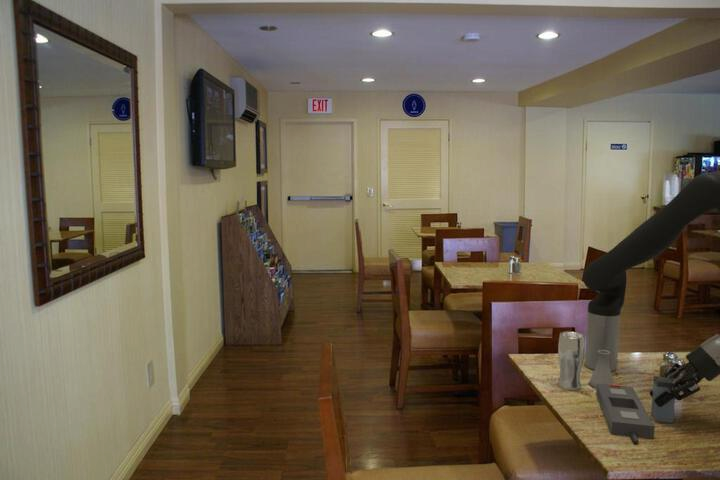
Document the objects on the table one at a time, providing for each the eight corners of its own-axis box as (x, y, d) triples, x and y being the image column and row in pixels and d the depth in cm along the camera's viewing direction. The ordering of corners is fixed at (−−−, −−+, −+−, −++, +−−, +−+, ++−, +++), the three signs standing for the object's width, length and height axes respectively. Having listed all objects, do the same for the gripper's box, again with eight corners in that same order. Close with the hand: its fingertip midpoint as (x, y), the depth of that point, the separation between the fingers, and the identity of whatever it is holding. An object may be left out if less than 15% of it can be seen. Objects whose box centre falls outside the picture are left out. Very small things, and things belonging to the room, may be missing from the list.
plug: (650, 414, 144) (653, 375, 142) (668, 415, 143) (671, 377, 141) (654, 421, 140) (657, 381, 138) (673, 422, 139) (676, 383, 137)
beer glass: (579, 392, 157) (582, 340, 155) (553, 387, 160) (556, 336, 158) (584, 384, 163) (587, 333, 161) (559, 379, 166) (562, 329, 164)
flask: (618, 391, 158) (620, 356, 157) (590, 389, 159) (592, 354, 158) (612, 381, 165) (614, 348, 164) (585, 379, 166) (587, 346, 165)
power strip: (596, 393, 156) (596, 381, 156) (631, 397, 154) (632, 384, 153) (614, 442, 129) (615, 427, 129) (658, 447, 127) (659, 432, 126)
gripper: (692, 336, 144) (636, 378, 148) (712, 355, 130) (650, 400, 135) (714, 359, 143) (657, 400, 148) (736, 379, 129) (673, 424, 134)
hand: (654, 400), depth 141 cm, fingers closed on plug, 4 cm apart
